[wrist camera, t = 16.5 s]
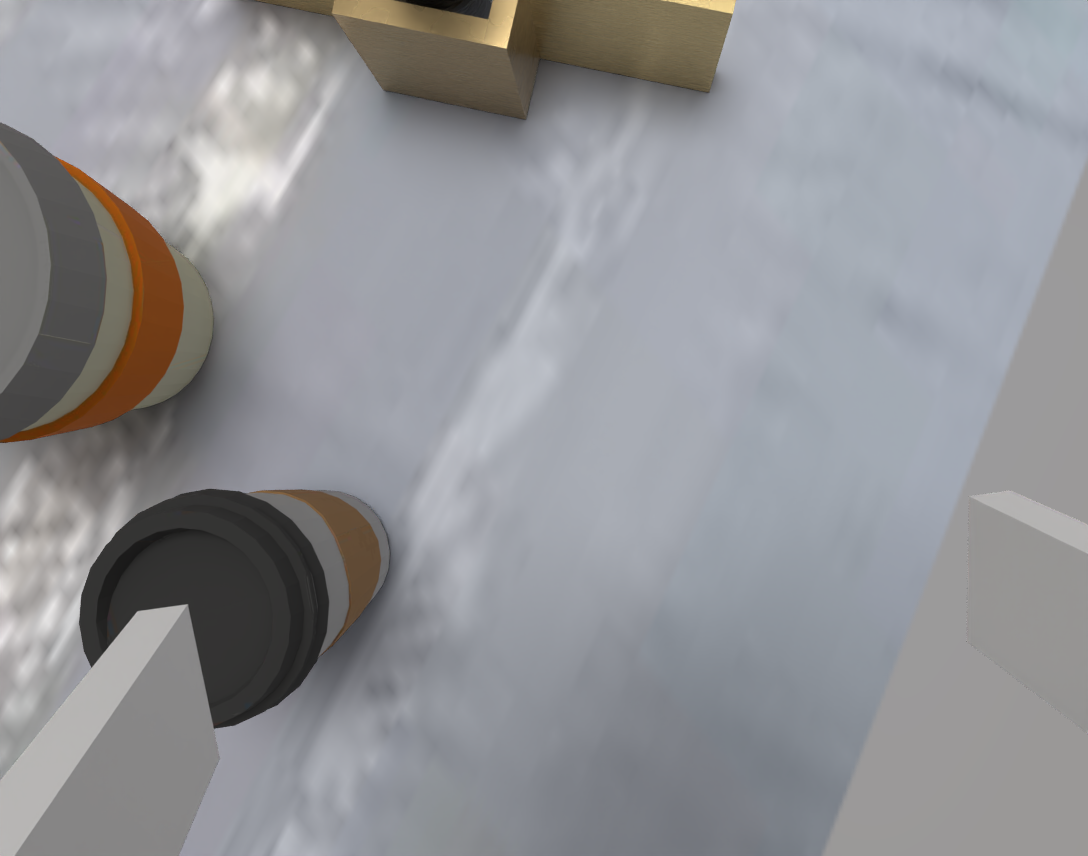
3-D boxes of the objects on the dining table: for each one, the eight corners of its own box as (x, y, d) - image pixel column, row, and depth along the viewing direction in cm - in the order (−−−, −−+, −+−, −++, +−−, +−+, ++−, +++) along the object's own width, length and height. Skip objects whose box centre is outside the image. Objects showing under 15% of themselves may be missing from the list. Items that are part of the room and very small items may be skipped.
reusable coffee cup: (-8, 230, 44) (-319, 132, 30) (220, 176, 44) (18, 45, 29) (40, 466, 44) (-249, 487, 29) (270, 416, 43) (92, 411, 28)
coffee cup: (230, 498, 44) (32, 536, 29) (383, 449, 43) (263, 461, 28) (279, 654, 43) (105, 775, 28) (433, 607, 43) (339, 705, 28)
